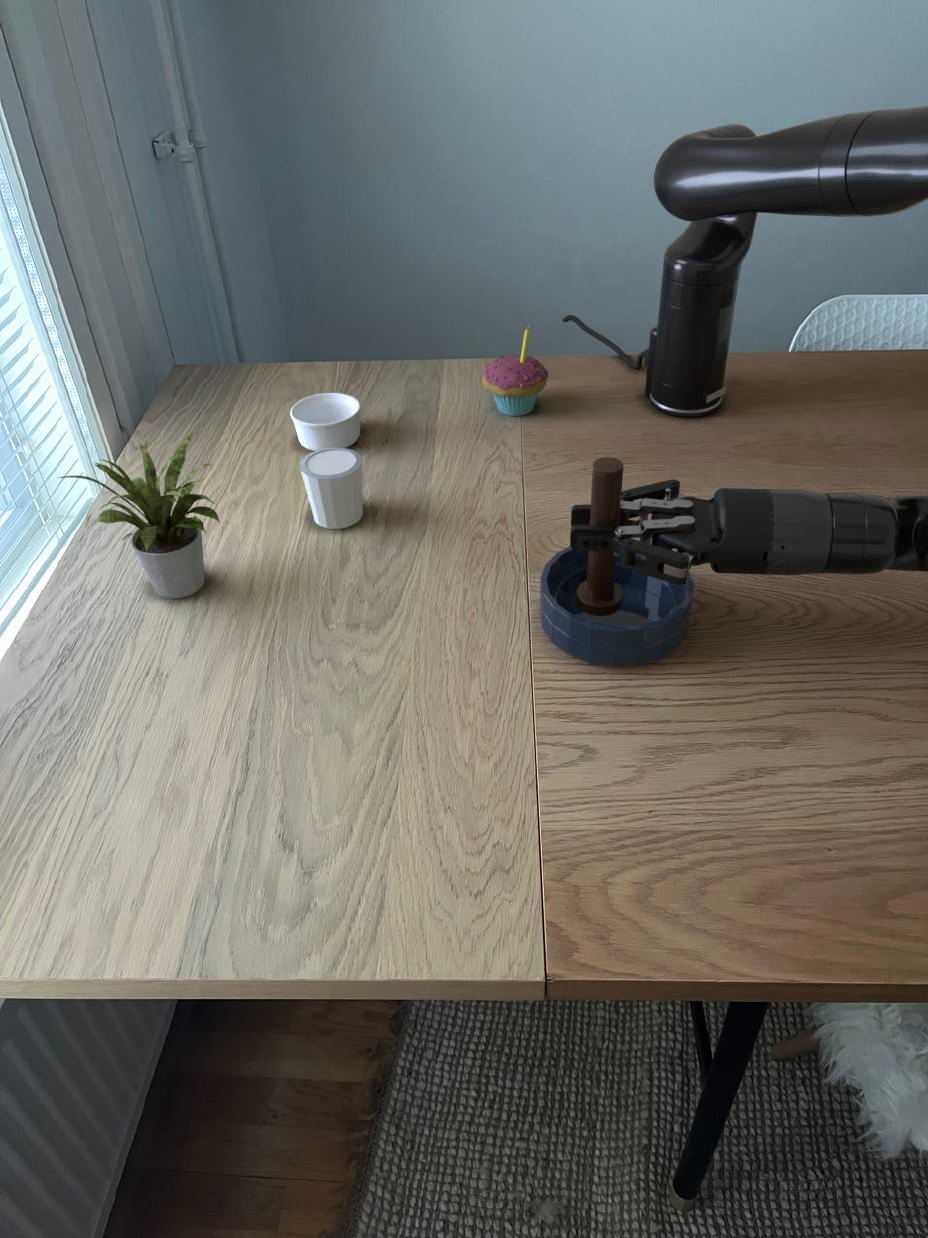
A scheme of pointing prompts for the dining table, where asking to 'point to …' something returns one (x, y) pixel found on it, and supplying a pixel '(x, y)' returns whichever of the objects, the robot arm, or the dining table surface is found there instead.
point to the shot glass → (334, 486)
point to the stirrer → (600, 586)
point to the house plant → (162, 523)
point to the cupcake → (515, 381)
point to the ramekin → (327, 421)
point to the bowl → (622, 638)
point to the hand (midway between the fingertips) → (571, 526)
